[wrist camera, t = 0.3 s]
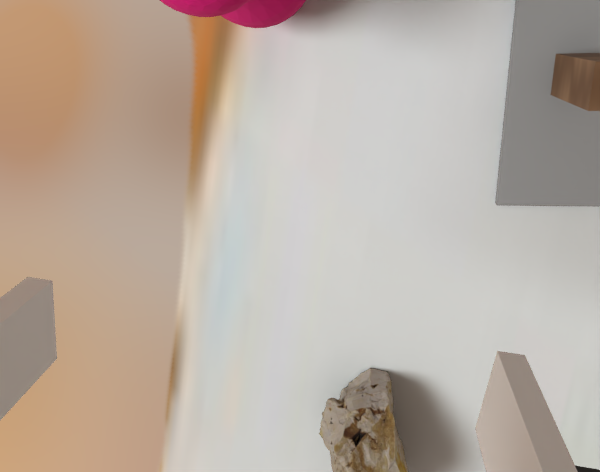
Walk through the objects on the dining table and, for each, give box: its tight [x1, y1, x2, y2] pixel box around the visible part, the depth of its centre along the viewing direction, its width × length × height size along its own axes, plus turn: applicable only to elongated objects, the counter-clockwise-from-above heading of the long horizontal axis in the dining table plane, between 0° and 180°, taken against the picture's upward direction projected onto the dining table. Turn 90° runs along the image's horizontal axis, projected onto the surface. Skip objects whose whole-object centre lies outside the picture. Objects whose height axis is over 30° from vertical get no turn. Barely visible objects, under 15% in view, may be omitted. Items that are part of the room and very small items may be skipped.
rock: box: [319, 368, 408, 472], centre depth 46 cm, size 12×7×10 cm, turn 7°
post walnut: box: [551, 53, 600, 111], centre depth 34 cm, size 3×3×7 cm
